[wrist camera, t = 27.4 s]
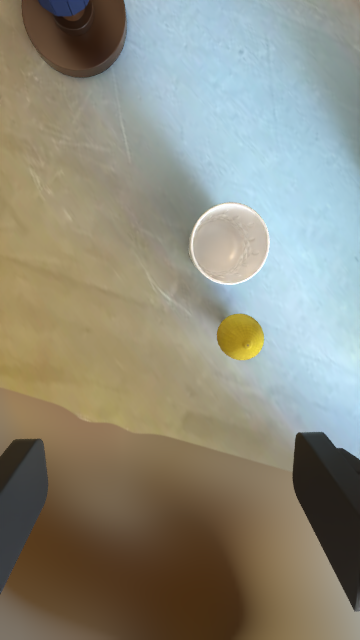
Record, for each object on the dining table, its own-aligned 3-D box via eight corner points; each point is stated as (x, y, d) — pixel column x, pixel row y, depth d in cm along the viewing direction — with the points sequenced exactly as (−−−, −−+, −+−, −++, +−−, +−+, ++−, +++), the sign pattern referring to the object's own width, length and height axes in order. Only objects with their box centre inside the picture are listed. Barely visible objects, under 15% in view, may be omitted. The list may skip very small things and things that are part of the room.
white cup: (199, 288, 42) (210, 297, 33) (173, 232, 41) (176, 224, 31) (254, 262, 42) (281, 263, 32) (229, 204, 41) (250, 187, 31)
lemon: (205, 324, 43) (214, 338, 36) (239, 301, 43) (256, 311, 35) (226, 356, 44) (239, 378, 37) (260, 334, 44) (281, 351, 36)
